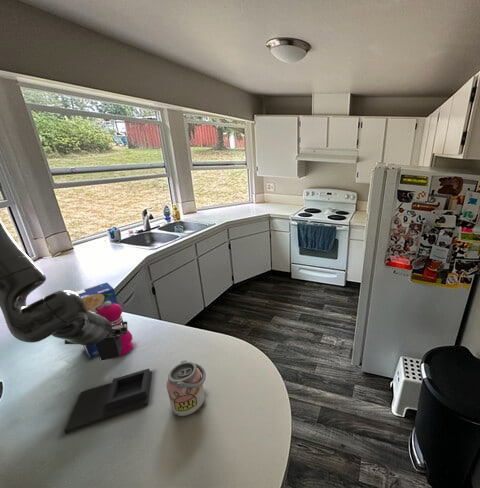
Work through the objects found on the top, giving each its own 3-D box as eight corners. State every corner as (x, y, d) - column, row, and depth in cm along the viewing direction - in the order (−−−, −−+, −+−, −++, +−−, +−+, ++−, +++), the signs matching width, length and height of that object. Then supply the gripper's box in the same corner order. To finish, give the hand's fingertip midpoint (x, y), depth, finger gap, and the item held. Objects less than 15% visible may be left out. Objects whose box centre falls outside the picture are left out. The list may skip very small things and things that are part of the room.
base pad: (65, 433, 62) (60, 424, 60) (81, 394, 71) (78, 385, 70) (147, 404, 69) (145, 395, 68) (152, 372, 79) (150, 364, 78)
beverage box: (84, 350, 87) (63, 295, 79) (122, 333, 95) (107, 282, 88) (90, 359, 83) (69, 302, 76) (129, 340, 92) (113, 288, 84)
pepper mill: (140, 345, 90) (126, 297, 83) (119, 360, 83) (103, 309, 76) (124, 341, 91) (110, 293, 85) (103, 355, 85) (86, 305, 78)
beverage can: (210, 385, 75) (205, 354, 71) (208, 411, 68) (203, 378, 64) (175, 395, 72) (167, 363, 68) (169, 423, 65) (161, 389, 61)
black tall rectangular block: (100, 361, 75) (92, 337, 71) (104, 351, 78) (97, 327, 75) (119, 356, 77) (112, 332, 74) (123, 346, 80) (116, 323, 77)
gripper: (120, 306, 68) (137, 318, 82) (48, 320, 61) (79, 331, 75) (121, 334, 65) (138, 342, 79) (45, 352, 59) (78, 356, 73)
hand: (109, 336), depth 77 cm, fingers closed on black tall rectangular block, 4 cm apart
